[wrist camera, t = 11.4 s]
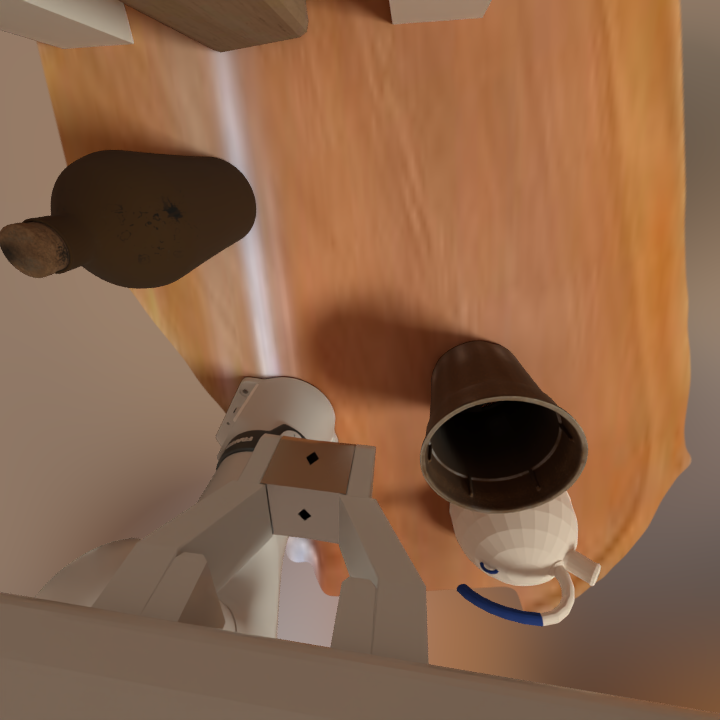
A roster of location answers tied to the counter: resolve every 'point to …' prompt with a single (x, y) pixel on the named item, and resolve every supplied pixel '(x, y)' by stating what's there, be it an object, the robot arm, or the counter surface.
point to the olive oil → (134, 218)
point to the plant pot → (497, 434)
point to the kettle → (525, 554)
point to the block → (229, 20)
